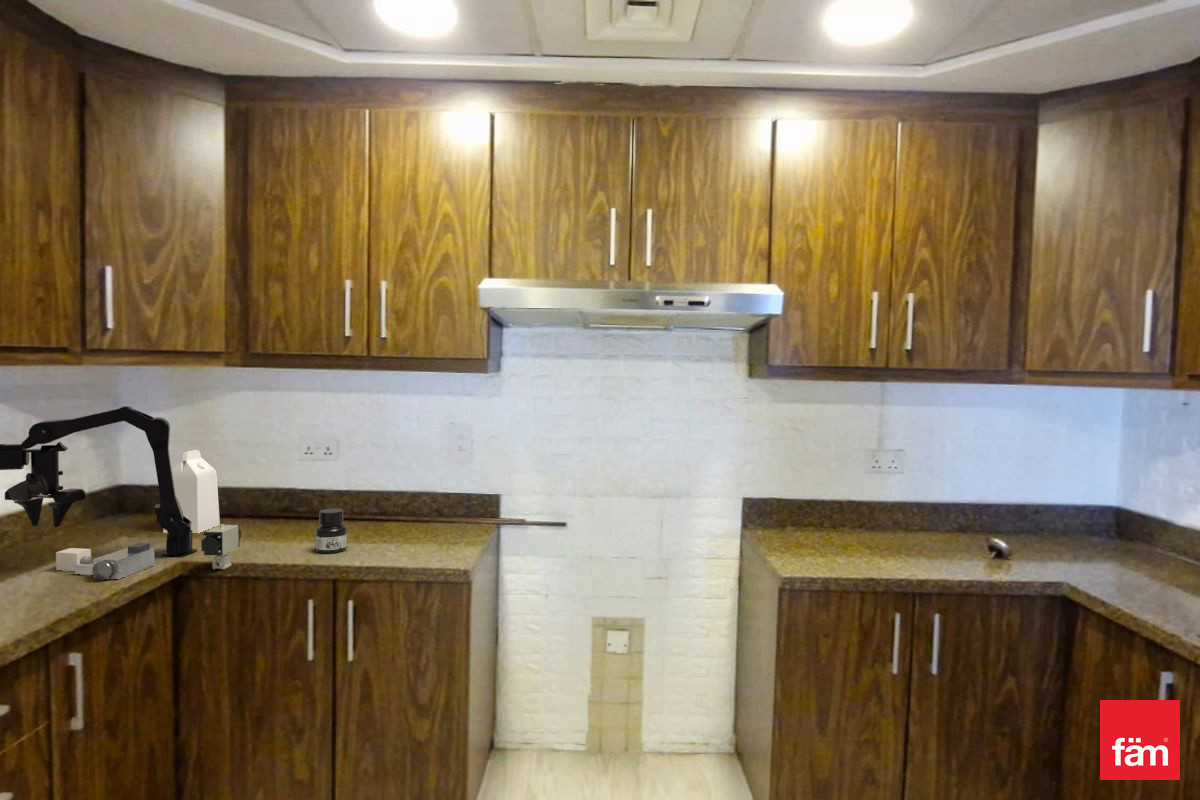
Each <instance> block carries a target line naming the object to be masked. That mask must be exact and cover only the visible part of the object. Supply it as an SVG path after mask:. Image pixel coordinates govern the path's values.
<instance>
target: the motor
mask: <svg viewBox="0 0 1200 800" xmlns="http://www.w3.org/2000/svg"><path fill="white" fill-rule="evenodd" d="M150 545H151V544H150V543H148V542H147V543H146V542H138V543H136V544H132V545H129V546H127V547H125V548H123V549H120V550H116V551H113V552H110V553H108V554H104V555H102V556H98V557H95V558H92V561H93V562H92V563H91V564H77V565H75V572H74V573H75V574H80V575H79V576H81V575H82V576H90V575H94V576H93V579H96V580H98V581H105V580H113V579H119V578H122V577H125V576H127V575H130V574H133V573H135V572H138V571H140V570H143V569H145V568H148V567H151V566H153V565H155V563H156V562H155V561H156V560H155V547H151V546H150ZM151 568H152V567H151ZM148 569H149V568H148ZM143 571H144V570H143ZM140 572H141V571H140ZM138 573H139V572H138ZM75 574H74V575H75ZM135 574H136V573H135ZM133 575H134V574H133ZM130 576H131V575H130ZM127 577H128V576H127ZM107 578H109V579H107ZM125 578H126V577H125ZM122 579H123V578H122ZM119 580H120V579H119Z"/></svg>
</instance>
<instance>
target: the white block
mask: <svg viewBox="0 0 1200 800" xmlns="http://www.w3.org/2000/svg"><path fill="white" fill-rule="evenodd" d="M92 561H93V558H92V549H91V548H79V547H78V548H77V547H76V548H75V547H69V548H65V549H63V550H60V551H59V550H58V551H57V552H55V567H56V568H55V571H56V570H62V571H61V572H69V571H75V565H77V564H92V563H93V562H92Z"/></svg>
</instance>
